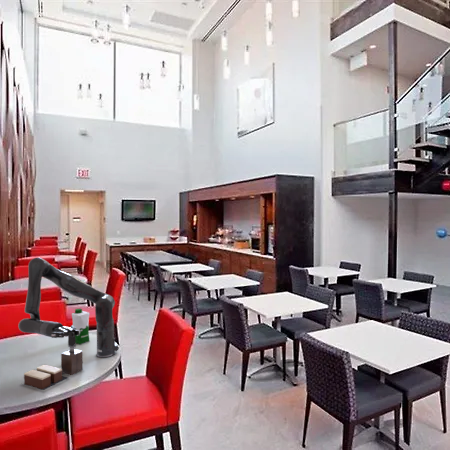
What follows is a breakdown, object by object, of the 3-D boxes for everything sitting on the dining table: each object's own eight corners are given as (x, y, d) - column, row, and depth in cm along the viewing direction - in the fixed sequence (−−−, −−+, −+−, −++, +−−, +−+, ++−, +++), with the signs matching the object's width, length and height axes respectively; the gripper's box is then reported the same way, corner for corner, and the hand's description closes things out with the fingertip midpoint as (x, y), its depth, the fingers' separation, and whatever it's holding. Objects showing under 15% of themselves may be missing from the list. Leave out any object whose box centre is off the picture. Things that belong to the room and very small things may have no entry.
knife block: (61, 374, 184) (61, 353, 184) (72, 368, 191) (72, 348, 190) (71, 376, 181) (71, 355, 181) (82, 371, 188) (82, 350, 187)
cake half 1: (24, 383, 172) (24, 373, 172) (32, 379, 176) (32, 369, 176) (42, 389, 167) (42, 378, 167) (50, 384, 171) (50, 374, 171)
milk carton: (82, 338, 236) (82, 307, 235) (91, 341, 231) (91, 309, 231) (70, 342, 229) (69, 310, 228) (79, 345, 224) (79, 312, 223)
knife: (68, 366, 185) (67, 329, 185) (71, 365, 188) (71, 328, 187) (72, 368, 184) (72, 330, 183) (76, 366, 186) (75, 328, 186)
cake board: (21, 385, 172) (21, 383, 172) (46, 373, 185) (46, 371, 185) (43, 392, 166) (43, 390, 166) (68, 379, 179) (68, 377, 179)
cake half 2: (36, 378, 178) (36, 367, 178) (44, 374, 182) (44, 364, 182) (54, 383, 173) (54, 372, 173) (62, 379, 177) (62, 368, 177)
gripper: (39, 325, 185) (64, 330, 177) (62, 318, 197) (86, 322, 190) (39, 340, 185) (65, 346, 178) (62, 332, 198) (86, 337, 190)
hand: (76, 333), depth 184 cm, fingers closed on knife, 2 cm apart
